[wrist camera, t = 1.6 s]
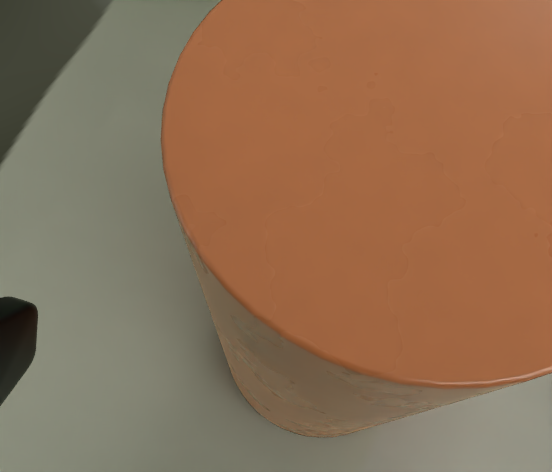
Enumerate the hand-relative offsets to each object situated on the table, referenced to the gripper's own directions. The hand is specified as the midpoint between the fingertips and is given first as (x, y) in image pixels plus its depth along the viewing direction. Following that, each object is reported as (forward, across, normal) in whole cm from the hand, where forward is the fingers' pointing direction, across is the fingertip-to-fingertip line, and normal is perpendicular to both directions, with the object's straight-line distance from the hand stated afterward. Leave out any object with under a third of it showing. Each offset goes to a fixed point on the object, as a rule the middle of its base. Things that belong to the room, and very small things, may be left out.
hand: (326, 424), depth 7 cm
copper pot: (+11, 0, +4) cm, 12 cm away
